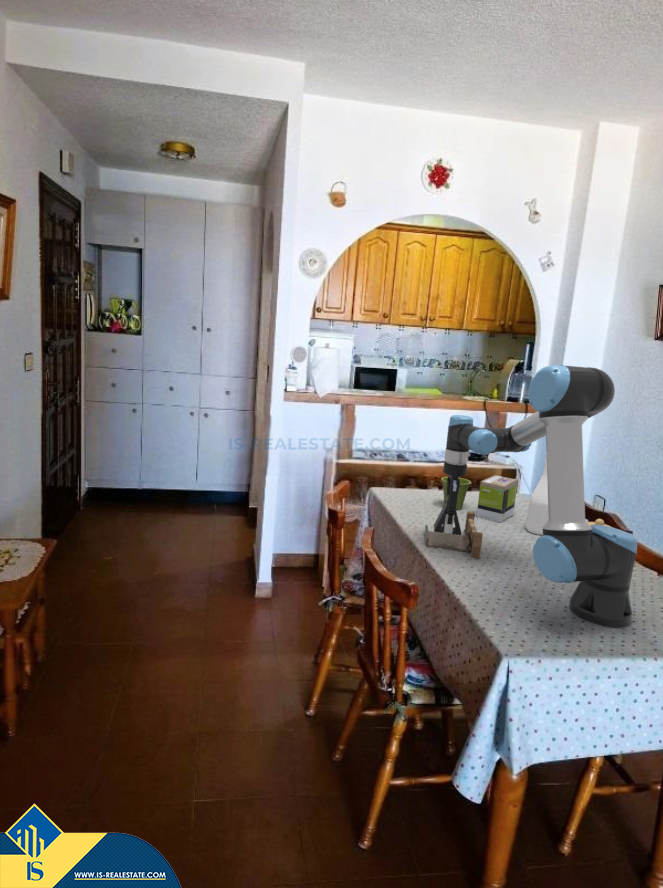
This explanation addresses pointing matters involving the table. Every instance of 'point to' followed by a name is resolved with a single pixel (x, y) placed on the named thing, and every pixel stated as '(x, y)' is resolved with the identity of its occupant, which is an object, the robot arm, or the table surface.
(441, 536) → the keeper plate
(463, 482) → the plant pot
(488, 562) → the table surface
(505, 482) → the tea box
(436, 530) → the phone stand
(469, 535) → the door pull handle
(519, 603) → the table surface
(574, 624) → the table surface
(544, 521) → the wine bottle
